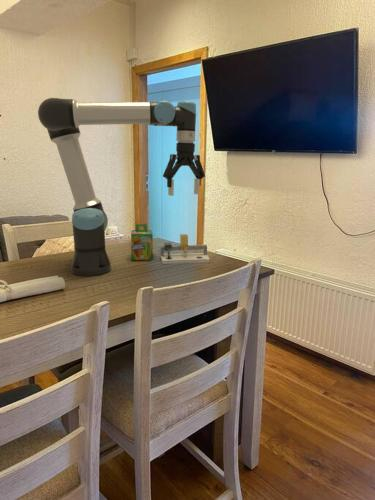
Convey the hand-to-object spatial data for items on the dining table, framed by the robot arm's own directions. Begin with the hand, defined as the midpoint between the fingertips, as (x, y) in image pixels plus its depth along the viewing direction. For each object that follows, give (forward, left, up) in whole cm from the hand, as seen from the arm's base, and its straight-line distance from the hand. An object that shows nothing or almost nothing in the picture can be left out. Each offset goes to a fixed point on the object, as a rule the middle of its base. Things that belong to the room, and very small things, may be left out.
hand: (184, 194), depth 161 cm
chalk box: (-18, +2, -28) cm, 33 cm away
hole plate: (0, -4, -27) cm, 28 cm away
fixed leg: (-7, -3, -26) cm, 27 cm away
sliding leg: (0, -3, -25) cm, 26 cm away
